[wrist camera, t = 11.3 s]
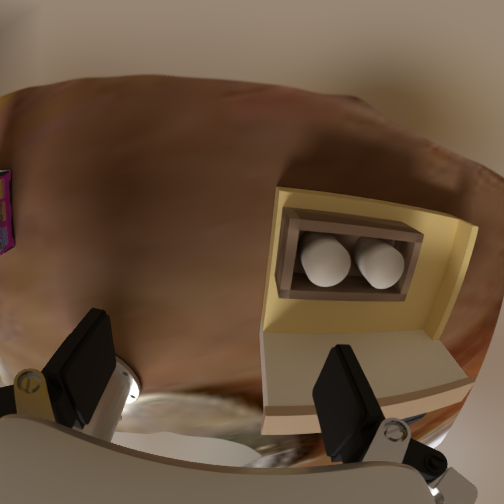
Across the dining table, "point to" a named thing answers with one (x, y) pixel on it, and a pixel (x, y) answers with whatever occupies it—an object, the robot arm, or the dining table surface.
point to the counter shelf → (366, 322)
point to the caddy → (344, 257)
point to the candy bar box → (6, 213)
